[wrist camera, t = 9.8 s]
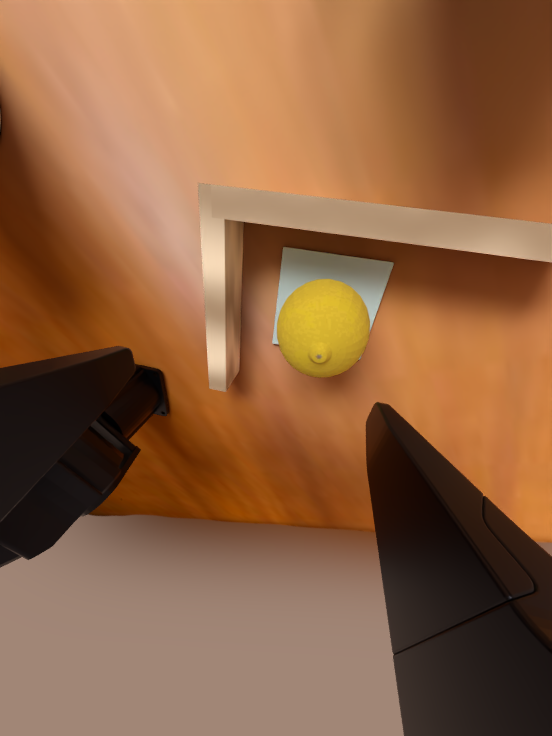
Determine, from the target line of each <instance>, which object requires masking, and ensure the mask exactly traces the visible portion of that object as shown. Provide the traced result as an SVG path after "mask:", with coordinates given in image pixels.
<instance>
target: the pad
mask: <svg viewBox="0 0 552 736" xmlns="http://www.w3.org/2000/svg"><path fill="white" fill-rule="evenodd" d="M393 265H394V262H388V261H381V260H374V259H367V258H360V257H353V256H346V255H339V254H332V253H325V252H318V251H311V250H304V249H297V248H290V247H283V253H282V262H281V271H280V280H279V289H278V298H277V307H276V316H275V325H274V333H273V342H272V343H273V344H278V345H279V343H278V340H277V321H278V317H279V313H280V310H281V308H282V306H283V304H284V303H285V301H286V299H287V298H288V297H289V296H290V295H291V294H292V293H293V292H294V291H295V290H296V289H297V288H299V287H300V286H302V285H303V284H305V283H307V282H310V281H314V280H317V279H332V280H337V281H341V282H343V283H345V284H347V285H349V286H350V287H352V288H353V289H354V290H355V291H356V292H357V293H358V294H359V295H360V296H361V298H362V300H363V301H364V303H365V305H366V307H367V310H368V314H369V318H370V330H371V327H372V324H373V322H374V319H375V316H376V313H377V310H378V307H379V305H380V302H381V299H382V296H383V293H384V290H385V287H386V285H387V282H388V279H389V276H390V273H391V270H392V268H393ZM361 356H362V355H361ZM360 359H361V357H360V358H359V360H360Z"/></svg>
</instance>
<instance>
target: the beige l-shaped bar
mask: <svg viewBox="0 0 552 736" xmlns="http://www.w3.org/2000/svg"><path fill="white" fill-rule="evenodd" d="M198 197H199V215H200V232H201V250H202V267H203V285H204V303H205V320H206V338H207V355H208V373H209V388H210V389H215V390H219V391H224V392H226V391H227V390H228V388H229V386H230V385H231V383H232V382H233V380H234V378H235V377H236V375H237V374H238V372H239V368H240V334H241V299H242V265H243V230H244V222H249V223H257V224H265V225H272V226H280V227H287V228H295V229H302V230H310V231H318V232H325V233H333V234H340V235H348V236H355V237H363V238H371V239H378V240H386V241H393V242H401V243H408V244H416V245H423V246H431V247H439V248H446V249H454V250H461V251H469V252H476V253H484V254H492V255H499V256H507V257H514V258H522V259H529V260H537V261H545V262H552V224H549V223H541V222H532V221H523V220H515V219H506V218H497V217H489V216H480V215H471V214H463V213H454V212H445V211H437V210H428V209H420V208H411V207H402V206H394V205H385V204H376V203H368V202H359V201H350V200H342V199H333V198H324V197H316V196H307V195H298V194H290V193H281V192H272V191H264V190H255V189H246V188H238V187H229V186H221V185H212V184H203V183H198Z"/></svg>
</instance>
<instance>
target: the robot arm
mask: <svg viewBox="0 0 552 736" xmlns="http://www.w3.org/2000/svg"><path fill="white" fill-rule="evenodd" d="M168 413H169V409H168V404H167V398H166V393H165V388H164V382H163V377H162V373H161V371H160V370H159V369H156V368H151V367H147V366H142V365H137V364H135V363H134V358H133V354H132V351H131V350H130V349H129V348H126V347H121V346H115V347H110V348H105V349H99V350H94V351H89V352H83V353H78V354H73V355H67V356H62V357H57V358H52V359H46V360H41V361H36V362H30V363H25V364H20V365H14V366H9V367H4V368H0V567H2V566H4V565H6V564H9V563H11V562H13V561H15V560H16V559H19V558H21V557H23V558H25V559H27V560H29V559H32V558H33V557H35V556H37V555H39V554H41V553H42V552H44V551H46V550H47V549H49V548H50V547H52V546H53V545H54V544H55V543H56V542H57V541H58V540H59V538H60V537H61V536H62V535H63V534H64V533H65V532H66V531H67V530H68V528H69V527H70V526H71V525H72V524H73V523H74V522H75V521H76V520H77V519H78V518H79V517H80V516H85V515H87V514H89V513H90V512H92V511H93V510H94V509H96V508H97V507H98V506H99V505H100V504H101V503H102V502H103V501H104V500H105V499H106V498H107V497H108V496H109V495H110V494H111V493H112V492H113V491H114V490H115V488H116V487H117V486H118V484H119V483H120V481H121V480H122V478H123V477H124V475H125V474H126V472H127V470H128V469H129V467H130V466H131V464H132V463H133V461H134V460H135V458H136V457H137V455H138V454H139V452H140V450H141V449H140V448H138V447H137V446H135V445H133V444H132V443H131V442H130V441H129V439H130V438H131V437H132V436H133V435H134V434H135V433H136V432H137V431H138V430H139V429H140V428H141V427H142V425H143V424H144V423H145V422H146V421H147V420H148V419H149V418H150V417H151V416H152V415H153V414H157V415H161V416H167V414H168ZM366 462H367V474H368V481H369V488H370V495H371V502H372V509H373V517H374V524H375V531H376V538H377V545H378V552H379V559H380V566H381V573H382V580H383V588H384V595H385V602H386V609H387V616H388V623H389V630H390V638H391V645H392V652H393V654H394V655H393V659H394V668H395V675H396V682H397V689H398V695H399V703H400V710H401V717H402V724H403V732H404V736H552V556H551V555H550V554H548V553H547V552H546V551H545V550H544V549H543V548H541V547H540V546H539V545H538V544H537V543H536V542H535V541H534V540H532V539H531V538H530V537H529V536H528V535H527V534H526V533H525V532H523V531H522V530H521V529H520V528H519V527H518V526H517V525H516V524H515V523H514V522H513V521H512V520H510V519H509V518H508V517H507V516H506V515H505V514H504V513H503V512H502V511H501V510H500V509H499V508H498V507H497V506H495V505H494V504H493V503H492V502H491V501H490V500H489V499H488V498H487V497H486V496H483V493H482V492H481V491H480V490H479V489H477V488H476V487H475V486H474V485H473V484H472V483H471V482H470V481H469V480H468V479H467V478H466V477H465V476H464V475H463V474H462V473H461V472H460V471H458V470H457V469H456V468H455V467H454V466H453V465H452V464H451V463H450V462H449V461H448V460H447V459H446V458H445V457H444V456H443V455H442V454H441V453H439V452H438V451H437V450H436V449H435V448H434V447H433V446H432V445H431V444H430V443H429V442H428V441H427V440H426V439H425V438H424V437H423V436H422V435H420V434H419V433H418V432H417V431H416V430H415V429H414V428H413V427H412V426H411V425H410V424H409V423H408V422H407V421H406V420H405V419H404V418H403V417H401V416H400V415H399V414H398V413H397V412H396V411H395V410H394V409H393V408H392V407H391V406H390V405H388V404H384V403H380V402H376V403H375V404H374V405H373V408H372V410H371V412H370V414H369V416H368V418H367V421H366Z"/></svg>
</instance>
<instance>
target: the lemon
mask: <svg viewBox="0 0 552 736" xmlns="http://www.w3.org/2000/svg"><path fill="white" fill-rule="evenodd" d="M369 334H370V318H369V314H368V310H367V307H366V305H365V303H364V301H363V300H362V298H361V296H360V295H359V294H358V293H357V292H356V291H355V290H354V289H353V288H352V287H350V286H349V285H347V284H345V283H343V282H341V281H337V280H332V279H317V280H314V281H310V282H307V283H305V284H303V285H302V286H300V287H299V288H297V289H296V290H295V291H294V292H293V293H292V294H291V295H290V296H289V297H288V298H287V299H286V301H285V303H284V304H283V306H282V308H281V310H280V313H279V317H278V321H277V340H278V343H279V347H280V350H281V352H282V354H283V356H284V357H285V359H286V361H287V362H288V363H289V364H290V365H291V366H292V367H293V368H295V369H296V370H298V371H299V372H301V373H303V374H306V375H308V376H312V377H318V378H322V377H331V376H335V375H338V374H341V373H342V372H344V371H346V370H348V369H349V368H350V367H352V366H353V365H354V364H355V363H356V362H357V361H358V360H359V358H360V357H361V355H362V354H363V352H364V350H365V348H366V345H367V342H368V339H369Z"/></svg>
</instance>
